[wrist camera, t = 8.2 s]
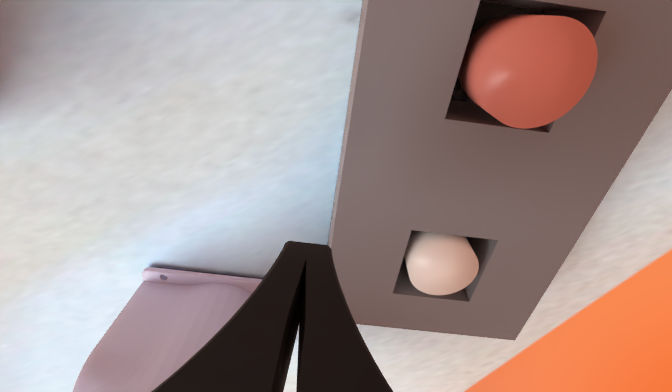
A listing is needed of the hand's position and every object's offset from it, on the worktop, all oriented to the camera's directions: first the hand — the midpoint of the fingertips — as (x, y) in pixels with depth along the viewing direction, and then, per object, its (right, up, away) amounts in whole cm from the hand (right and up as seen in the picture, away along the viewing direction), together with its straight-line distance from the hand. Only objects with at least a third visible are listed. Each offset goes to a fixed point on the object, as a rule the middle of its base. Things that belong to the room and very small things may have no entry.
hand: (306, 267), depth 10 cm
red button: (+8, +8, +3) cm, 12 cm away
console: (+7, +5, +8) cm, 12 cm away
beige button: (+7, 0, +9) cm, 12 cm away
